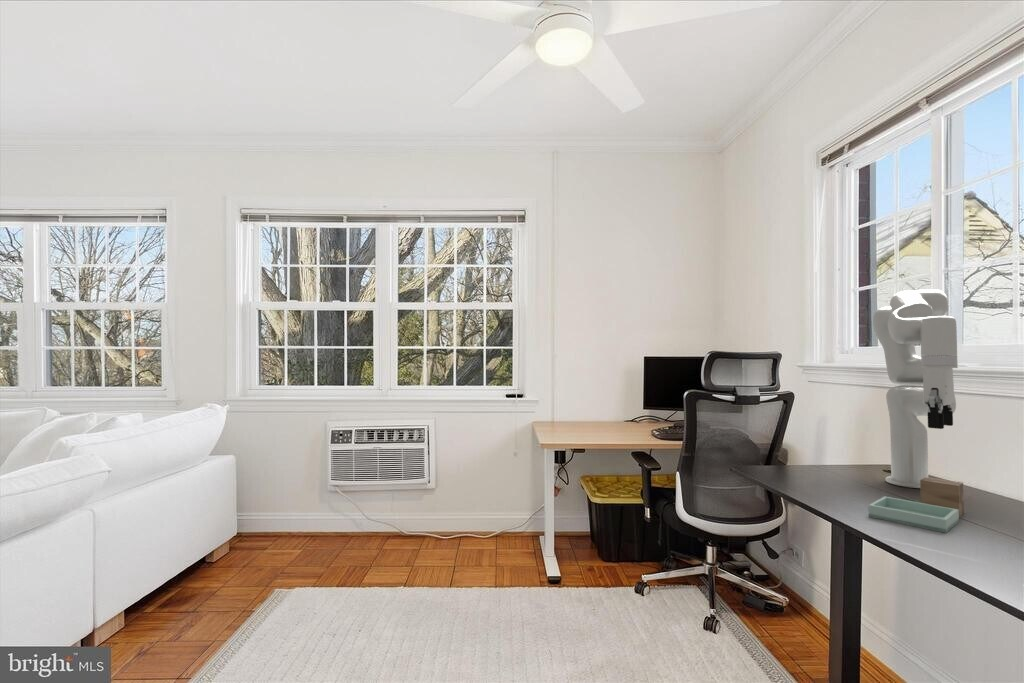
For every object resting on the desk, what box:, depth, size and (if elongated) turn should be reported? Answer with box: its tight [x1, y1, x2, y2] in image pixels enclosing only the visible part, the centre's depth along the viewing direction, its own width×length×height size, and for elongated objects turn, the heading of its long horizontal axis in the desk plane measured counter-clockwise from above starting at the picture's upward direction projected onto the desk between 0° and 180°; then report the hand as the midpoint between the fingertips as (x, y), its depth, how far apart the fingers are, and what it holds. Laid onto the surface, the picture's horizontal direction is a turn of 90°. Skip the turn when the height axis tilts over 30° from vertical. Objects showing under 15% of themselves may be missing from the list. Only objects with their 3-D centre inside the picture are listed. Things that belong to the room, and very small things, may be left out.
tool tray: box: [868, 495, 960, 534], centre depth 132 cm, size 13×16×3 cm
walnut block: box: [919, 476, 965, 518], centre depth 138 cm, size 5×8×8 cm, turn 39°
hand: (940, 426), depth 138 cm, fingers open, 9 cm apart
